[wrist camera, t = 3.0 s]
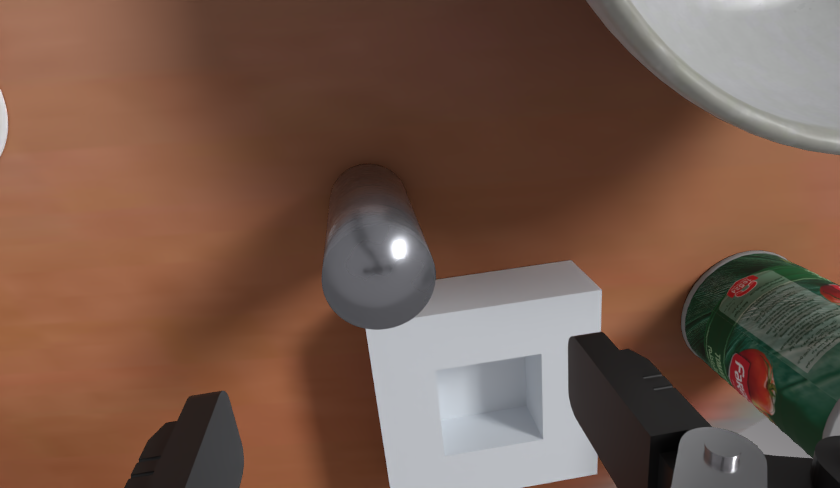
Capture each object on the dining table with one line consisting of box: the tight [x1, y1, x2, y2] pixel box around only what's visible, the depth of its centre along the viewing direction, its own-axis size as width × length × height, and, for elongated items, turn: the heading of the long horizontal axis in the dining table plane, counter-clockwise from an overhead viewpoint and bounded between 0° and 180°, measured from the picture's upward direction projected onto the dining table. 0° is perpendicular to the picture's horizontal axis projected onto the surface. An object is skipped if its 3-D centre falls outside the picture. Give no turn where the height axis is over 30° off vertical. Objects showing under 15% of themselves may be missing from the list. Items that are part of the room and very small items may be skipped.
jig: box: [366, 260, 602, 488], centre depth 31 cm, size 12×13×4 cm
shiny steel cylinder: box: [322, 164, 436, 330], centre depth 24 cm, size 4×4×10 cm
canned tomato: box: [681, 251, 840, 458], centre depth 29 cm, size 8×8×11 cm
